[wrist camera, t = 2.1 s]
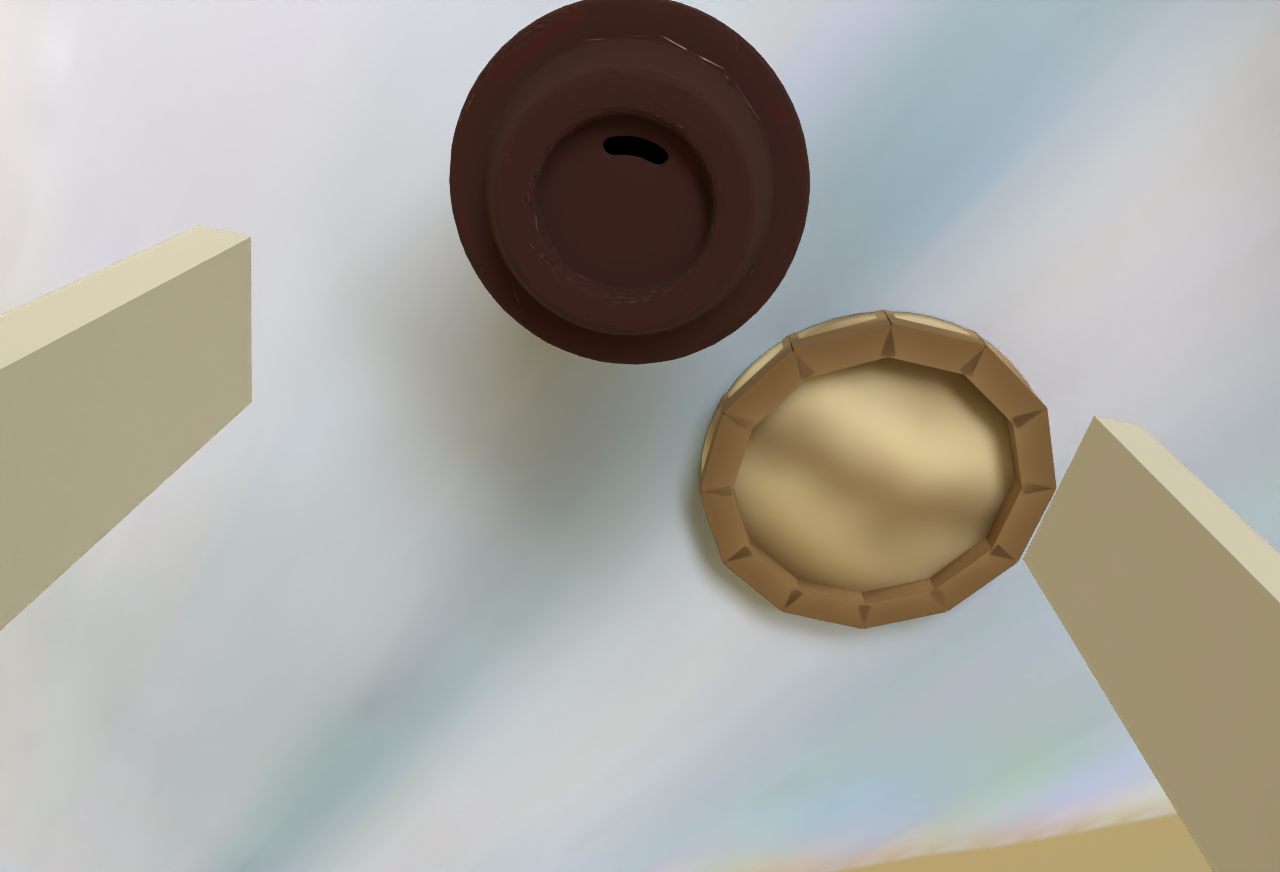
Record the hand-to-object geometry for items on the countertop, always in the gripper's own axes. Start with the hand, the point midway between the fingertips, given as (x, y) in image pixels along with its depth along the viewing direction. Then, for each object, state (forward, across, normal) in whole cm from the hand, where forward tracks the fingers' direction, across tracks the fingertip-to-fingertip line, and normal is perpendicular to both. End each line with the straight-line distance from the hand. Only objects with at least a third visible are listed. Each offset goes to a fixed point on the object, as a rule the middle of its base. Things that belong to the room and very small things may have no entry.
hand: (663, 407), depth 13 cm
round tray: (+25, +12, -12) cm, 31 cm away
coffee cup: (+25, -1, +1) cm, 25 cm away
